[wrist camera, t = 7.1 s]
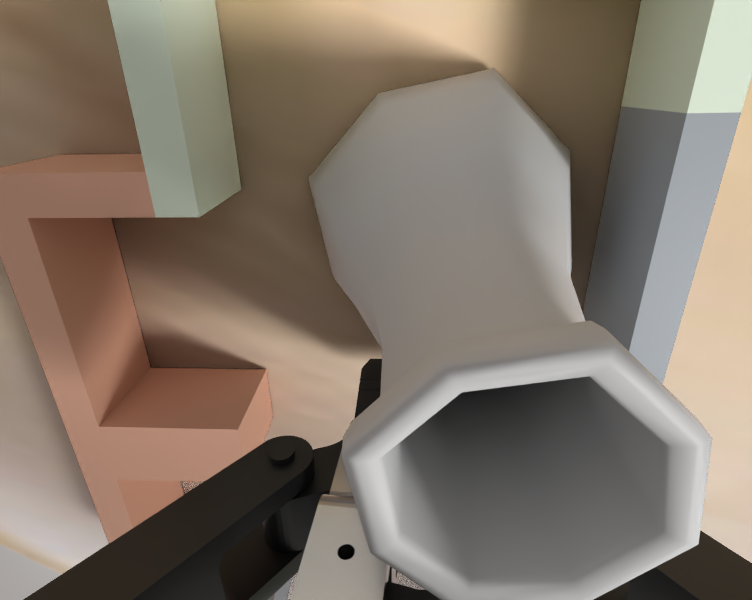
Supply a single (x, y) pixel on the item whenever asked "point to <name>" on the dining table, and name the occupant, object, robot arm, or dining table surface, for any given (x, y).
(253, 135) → the dining table surface
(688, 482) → the flask
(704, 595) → the robot arm
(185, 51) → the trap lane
